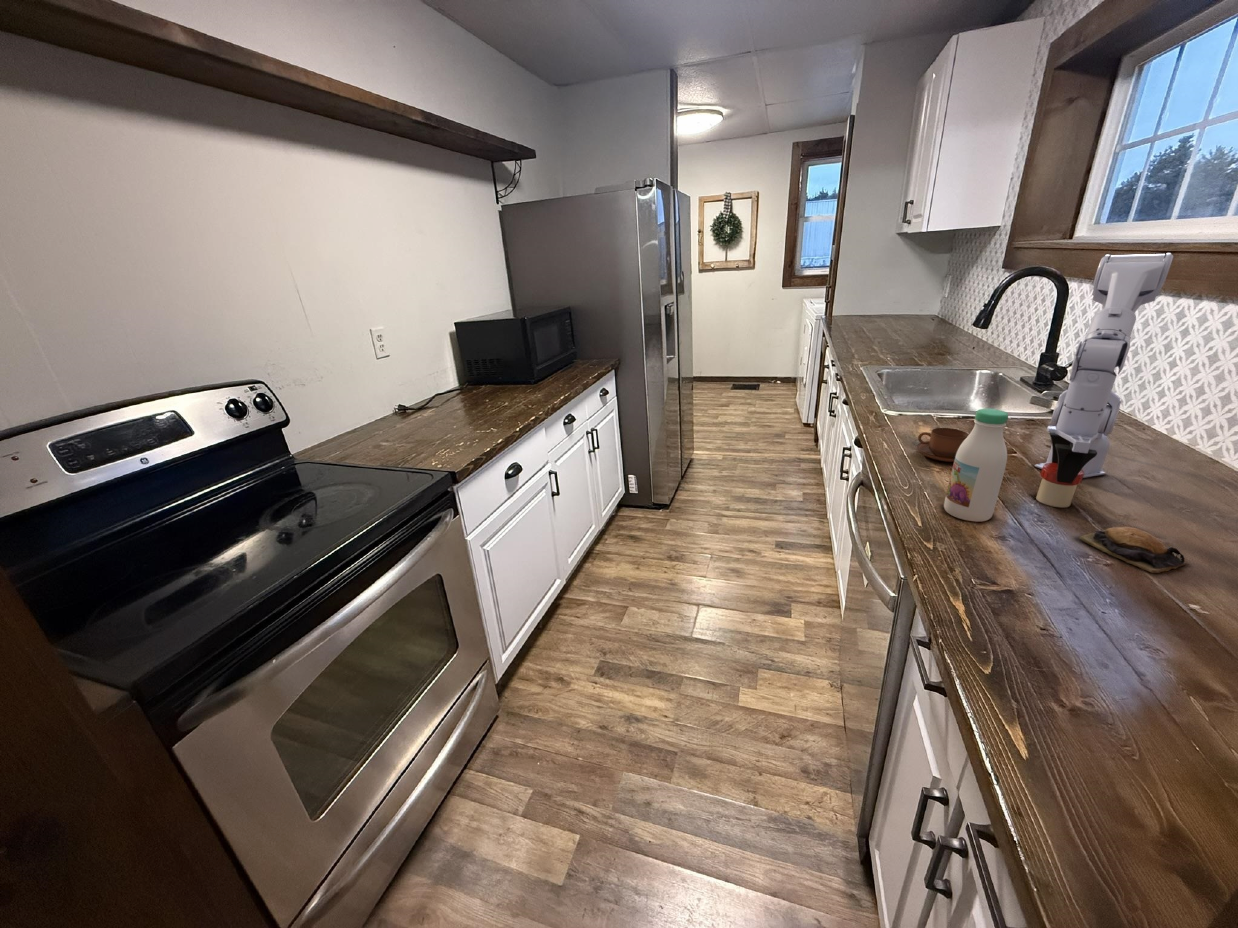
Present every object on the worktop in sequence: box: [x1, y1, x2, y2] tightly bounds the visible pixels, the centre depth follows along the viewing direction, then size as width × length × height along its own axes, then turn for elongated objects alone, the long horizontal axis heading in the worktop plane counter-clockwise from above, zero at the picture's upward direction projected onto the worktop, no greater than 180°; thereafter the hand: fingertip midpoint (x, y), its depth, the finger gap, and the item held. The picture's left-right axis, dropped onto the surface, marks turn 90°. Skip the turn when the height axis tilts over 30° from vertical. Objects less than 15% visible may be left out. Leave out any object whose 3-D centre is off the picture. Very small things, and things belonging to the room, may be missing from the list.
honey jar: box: [1035, 477, 1078, 508], centre depth 96 cm, size 5×5×6 cm
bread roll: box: [1079, 526, 1187, 574], centre depth 80 cm, size 11×8×4 cm
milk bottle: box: [943, 408, 1009, 523], centre depth 90 cm, size 8×8×20 cm
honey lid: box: [1039, 462, 1084, 486], centre depth 94 cm, size 6×6×2 cm
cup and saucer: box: [916, 427, 969, 463], centre depth 118 cm, size 12×12×6 cm
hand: (1061, 475), depth 95 cm, fingers closed on honey lid, 6 cm apart
